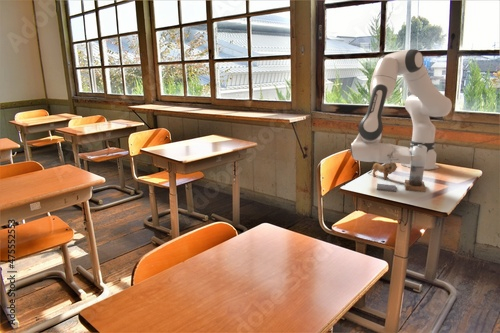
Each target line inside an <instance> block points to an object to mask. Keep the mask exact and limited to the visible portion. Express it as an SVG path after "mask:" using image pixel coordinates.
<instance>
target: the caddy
mask: <svg viewBox="0 0 500 333" xmlns="http://www.w3.org/2000/svg"><path fill="white" fill-rule="evenodd" d="M426 188H427V187H426V185H425V181H424V180H422V186H412V185H409V179H405V180H404V190H405V191H411V192H420V193H426Z"/></svg>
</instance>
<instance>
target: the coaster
mask: <svg viewBox="0 0 500 333" xmlns="http://www.w3.org/2000/svg"><path fill="white" fill-rule="evenodd" d="M376 191H383V192H390V193H391V192H392V193H396V192H397V186H396V185H393V184H384V183H377V184H376Z"/></svg>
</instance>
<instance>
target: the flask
mask: <svg viewBox="0 0 500 333" xmlns="http://www.w3.org/2000/svg"><path fill="white" fill-rule="evenodd" d="M424 171H425V170H424V167H417V166H412V165H411V168H410V169H409V177H408V180H409V185H412V186H422V181H424V180H423V179H424V173H425V172H424Z"/></svg>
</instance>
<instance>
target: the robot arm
mask: <svg viewBox="0 0 500 333" xmlns="http://www.w3.org/2000/svg"><path fill="white" fill-rule="evenodd" d="M401 75H402V77H403V79H404V81H405V84H406V87H407V89H408V91H409V93H410V94H411V95H409V96H407V98H406V99H405V102H404V108H405V110H406V111H407V113H408V114H409V117H410V119H411V122H412V135H411V140H410V145H409V146H410V147H408V146H403V145H396V144H393V143H383V142H380V141H381V138H382V136H383V135H382V133H383V129H384V125H383V121H382V115H383V114H382V113H383V111H384V107H385V103H386V101H387V99H390V97H392V94H393V93H394V90H395V88H396V84H397V80H398V76H401ZM369 94H370V100H369V103H368V107H367V111H366V113H365V115H364V117H363V118H362V119H361V120H360V122H359V124H358V129H357V130H358V134H357V136H356V138H355V139H354V140H353V142H351V144H350V155H351V157H352V159H353V160H355V161H358V162H359V161H360V162H365V163H367V162H368V163H373V162H375V163H379V164H391V162H394V163H396V164H400V165H401V166H404V167H407V168H410V169H411V161H415V160H422V156H418V155H417V156H413V155H412V149H413V146H418V145H423V146H424V147H427V154H426V161H425V166H424V171H425V170H429V171H430V170H434V169H436V170H437V169H439V168H440V167H439V165H438V164H436V163H437V152H436V151H435V150H434V149H435V145H436V144H435V143H436V142H435V138H436V137H435V136H436V130H437V128H436V125H434V124H433V123H432V121H431V118H430V117H433V118H441V117H443V118H444V117H446V116H448V114H450V112H451V111H452V108H453V103H452V100H451V99H450V98H449V97H447V96H445V94H443V93H441V91H439V89H438V88H437V87H436V86H435V85H434V83H433V81H432V79H431V78H430V75H429V72H428V70H427V67H426V65H425V63H424V55H423V54H422V52H421V51H420V50H419V49H414V48H413V49H408V50H406V49H405V50H397V51H395V52H391V53H388V54H387V53H386V54H383V55H381V56H380V57H379V58H378V60H377V62H376V65H375V67H374V70H373V72H372V76H371V80H370V84H369Z"/></svg>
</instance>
